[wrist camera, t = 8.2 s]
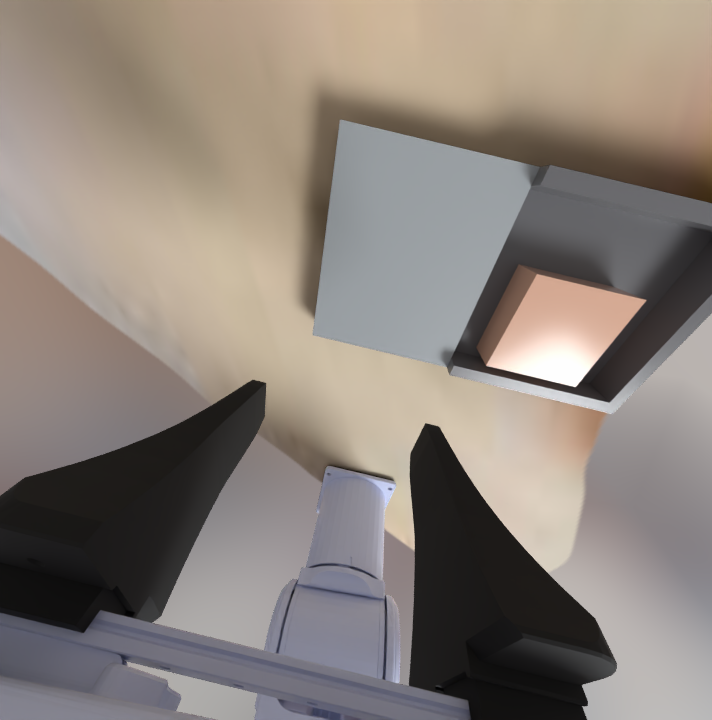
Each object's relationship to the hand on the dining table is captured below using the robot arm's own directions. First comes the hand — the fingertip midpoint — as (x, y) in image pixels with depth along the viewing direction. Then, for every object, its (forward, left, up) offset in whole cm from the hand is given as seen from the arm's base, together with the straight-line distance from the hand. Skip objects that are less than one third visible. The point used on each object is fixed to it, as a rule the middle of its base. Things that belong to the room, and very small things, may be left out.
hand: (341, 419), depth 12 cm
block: (+4, -11, -10) cm, 15 cm away
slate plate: (+5, -1, -10) cm, 12 cm away
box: (+5, -12, -10) cm, 17 cm away
